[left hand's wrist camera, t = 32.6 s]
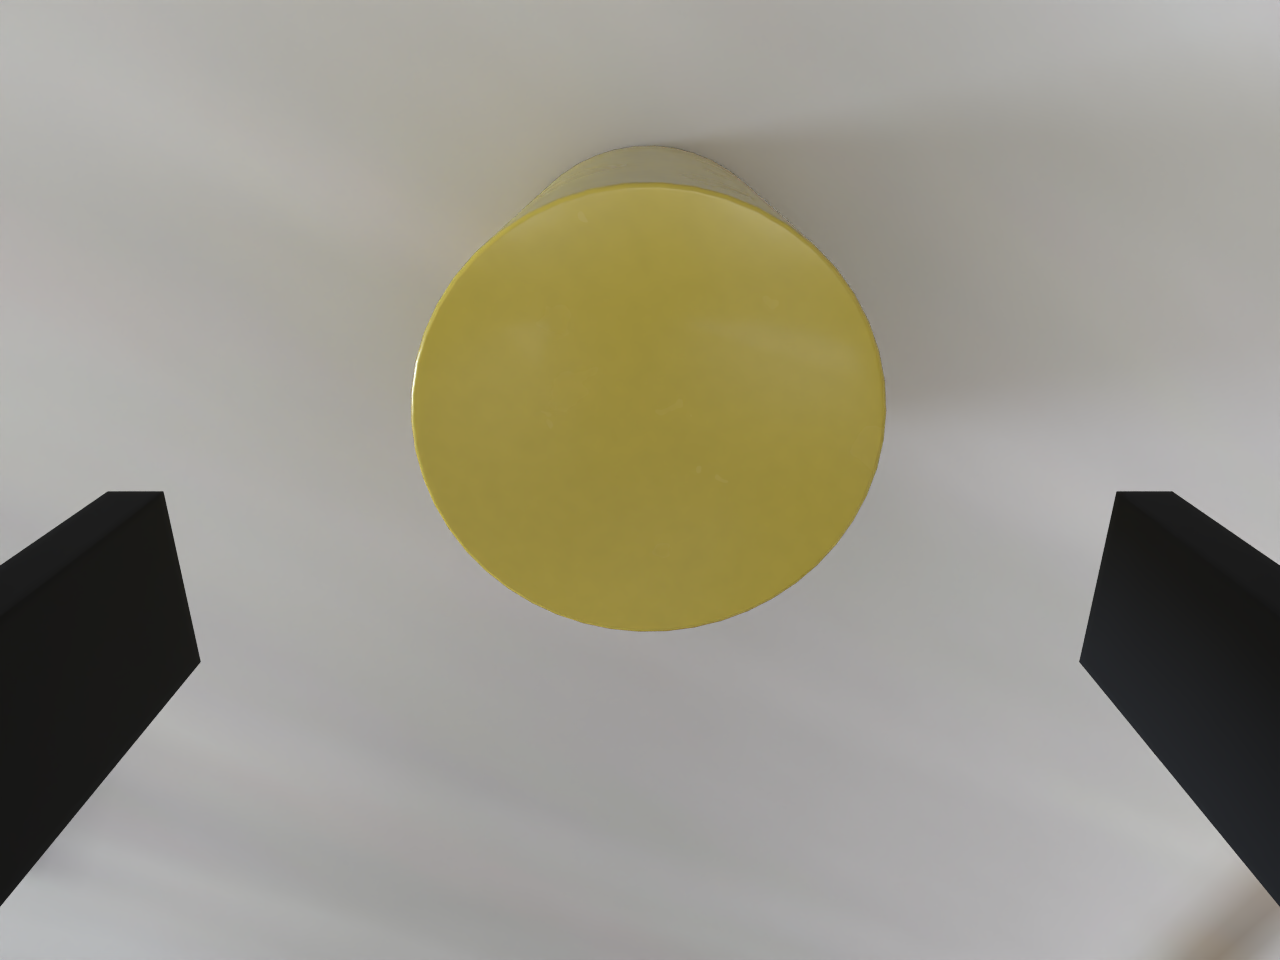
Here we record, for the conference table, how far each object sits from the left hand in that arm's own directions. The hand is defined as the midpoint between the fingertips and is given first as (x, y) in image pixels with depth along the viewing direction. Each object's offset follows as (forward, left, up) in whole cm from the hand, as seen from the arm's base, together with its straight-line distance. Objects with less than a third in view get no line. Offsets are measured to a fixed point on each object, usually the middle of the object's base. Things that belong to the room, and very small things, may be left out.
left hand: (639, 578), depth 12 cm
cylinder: (0, 0, -16) cm, 16 cm away
